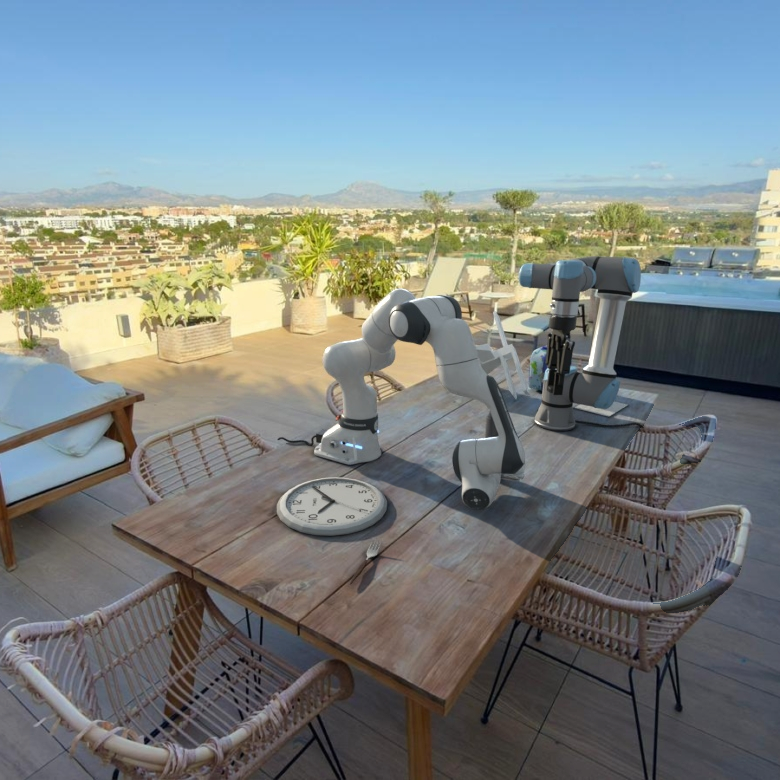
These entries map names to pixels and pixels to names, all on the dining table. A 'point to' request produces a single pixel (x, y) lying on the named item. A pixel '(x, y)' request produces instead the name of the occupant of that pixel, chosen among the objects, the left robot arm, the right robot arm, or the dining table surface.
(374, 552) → the fork
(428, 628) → the dining table surface
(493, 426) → the bottle
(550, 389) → the cap
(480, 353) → the white plastic object
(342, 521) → the wall clock
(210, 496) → the dining table surface
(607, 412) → the invitation card
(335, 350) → the left robot arm
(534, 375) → the lunch box
